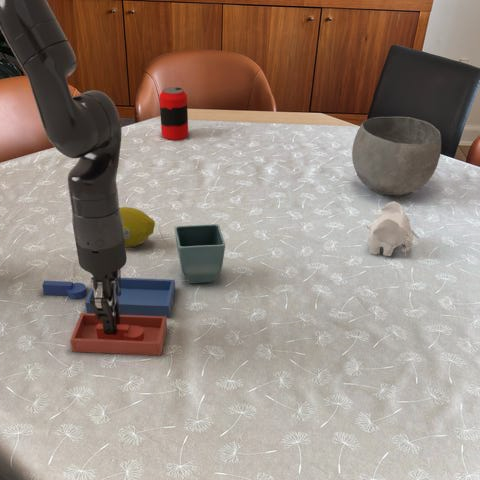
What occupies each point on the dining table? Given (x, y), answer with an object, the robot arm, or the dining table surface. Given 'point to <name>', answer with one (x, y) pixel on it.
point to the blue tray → (142, 297)
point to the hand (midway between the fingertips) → (112, 328)
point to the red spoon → (122, 333)
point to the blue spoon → (65, 289)
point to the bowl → (396, 154)
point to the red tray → (150, 345)
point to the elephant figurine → (390, 230)
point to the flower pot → (200, 252)
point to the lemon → (136, 226)
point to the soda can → (174, 113)
